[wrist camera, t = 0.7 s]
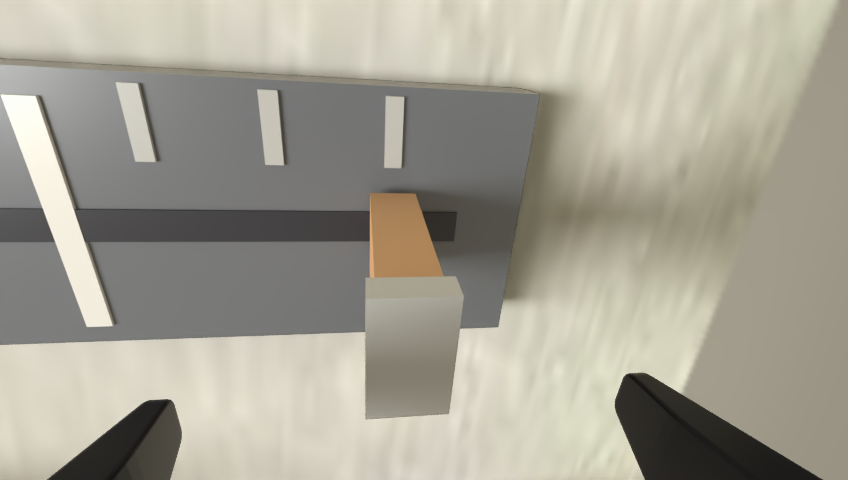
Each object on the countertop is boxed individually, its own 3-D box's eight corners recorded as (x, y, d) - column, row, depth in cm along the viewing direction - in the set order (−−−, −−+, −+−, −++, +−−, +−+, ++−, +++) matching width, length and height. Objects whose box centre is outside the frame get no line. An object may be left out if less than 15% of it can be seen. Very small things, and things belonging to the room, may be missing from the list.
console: (485, 301, 20) (498, 329, 18) (-26, 314, 17) (-74, 349, 15) (520, 88, 16) (541, 94, 14) (-163, 49, 12) (-255, 51, 11)
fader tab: (415, 271, 16) (448, 413, 10) (364, 271, 16) (365, 419, 10) (421, 188, 14) (463, 296, 8) (364, 187, 14) (366, 298, 8)
